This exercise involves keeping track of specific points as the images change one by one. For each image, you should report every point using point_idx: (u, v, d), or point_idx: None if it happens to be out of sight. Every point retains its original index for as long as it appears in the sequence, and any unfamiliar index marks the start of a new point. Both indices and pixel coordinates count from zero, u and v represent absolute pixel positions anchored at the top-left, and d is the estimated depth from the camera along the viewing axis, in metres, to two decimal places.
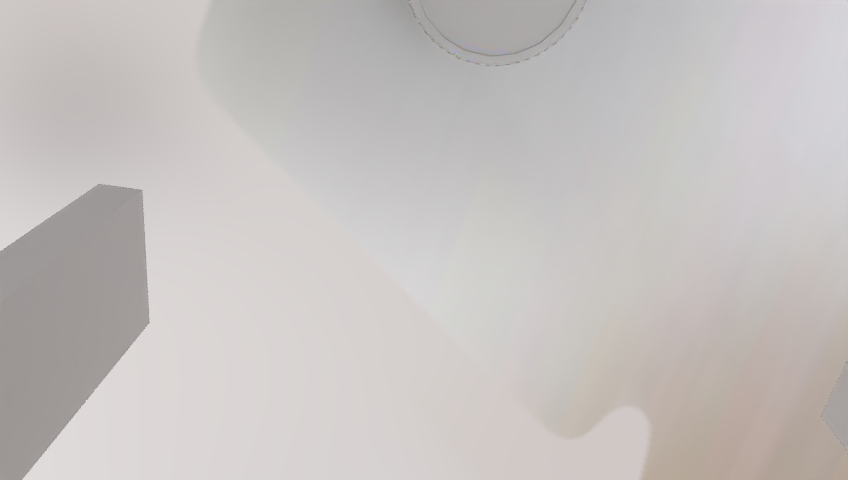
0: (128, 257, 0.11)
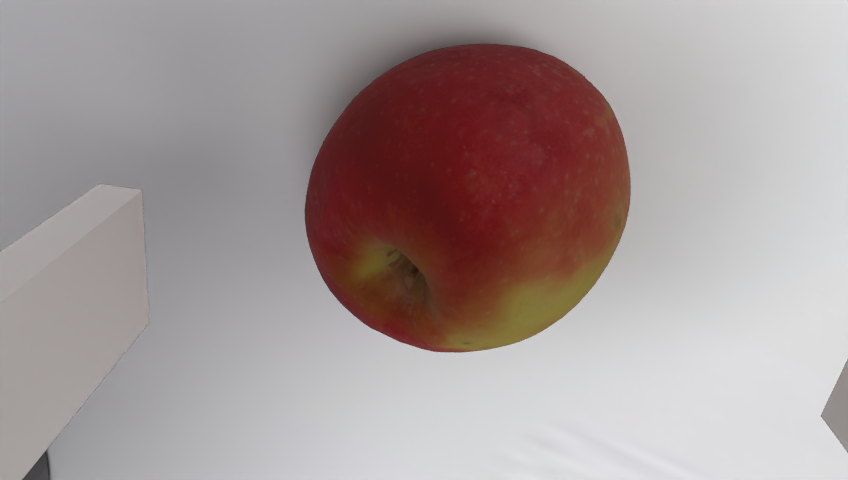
0: (128, 257, 0.11)
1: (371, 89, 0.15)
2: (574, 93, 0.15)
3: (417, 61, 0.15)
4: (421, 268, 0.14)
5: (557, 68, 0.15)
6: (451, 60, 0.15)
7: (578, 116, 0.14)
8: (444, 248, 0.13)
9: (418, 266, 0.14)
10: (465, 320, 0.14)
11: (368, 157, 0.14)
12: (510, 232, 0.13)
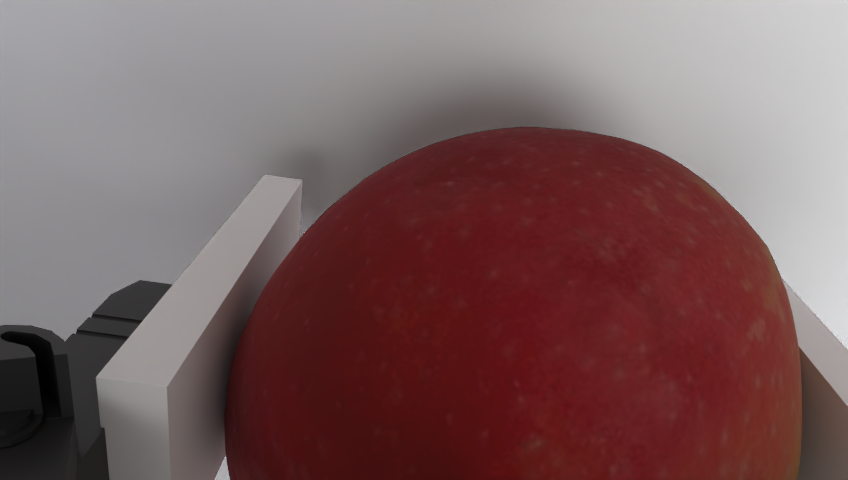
0: (292, 239, 0.13)
1: (338, 221, 0.08)
2: (720, 244, 0.08)
3: (422, 170, 0.08)
4: None
5: (683, 189, 0.08)
6: (487, 177, 0.08)
7: (735, 298, 0.07)
8: None
9: None
10: None
11: (320, 382, 0.07)
12: None
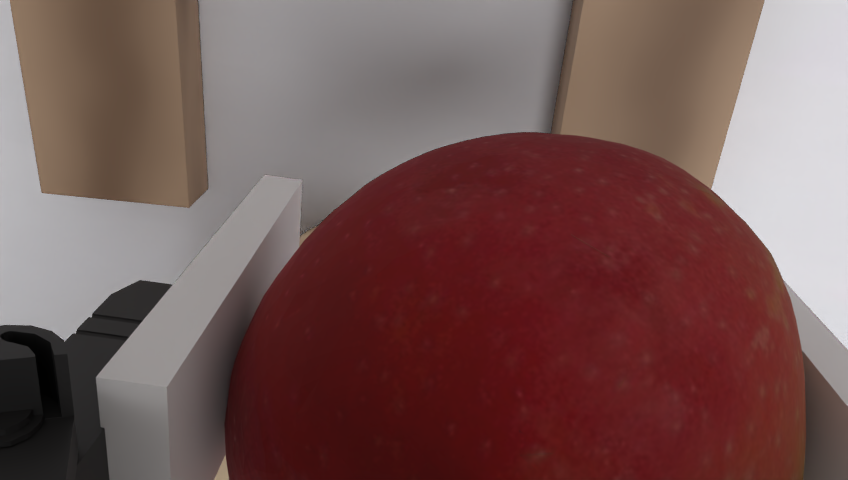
0: (292, 240, 0.13)
1: (339, 228, 0.08)
2: (724, 252, 0.08)
3: (424, 176, 0.08)
4: None
5: (686, 196, 0.08)
6: (490, 183, 0.08)
7: (741, 306, 0.07)
8: None
9: None
10: None
11: (321, 392, 0.07)
12: None
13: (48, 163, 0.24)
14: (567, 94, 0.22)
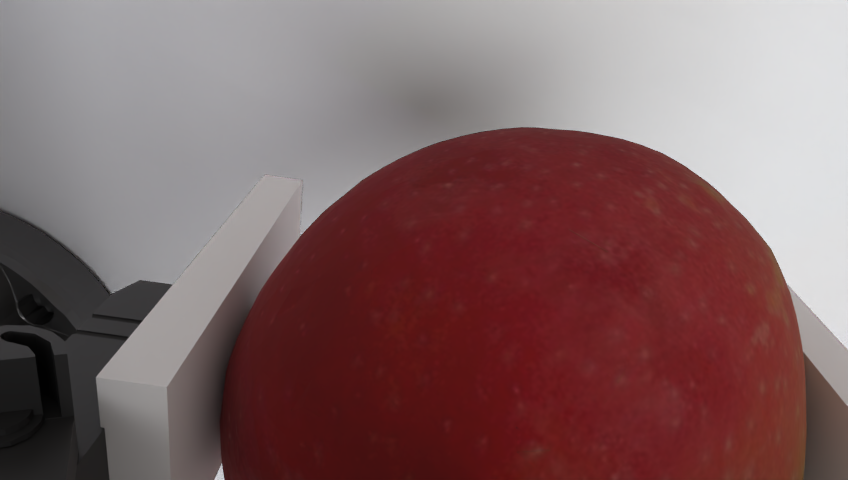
0: (292, 240, 0.13)
1: (335, 223, 0.08)
2: (725, 248, 0.07)
3: (421, 171, 0.08)
4: None
5: (685, 190, 0.08)
6: (486, 178, 0.08)
7: (741, 301, 0.07)
8: None
9: None
10: None
11: (315, 388, 0.07)
12: None
13: None
14: None
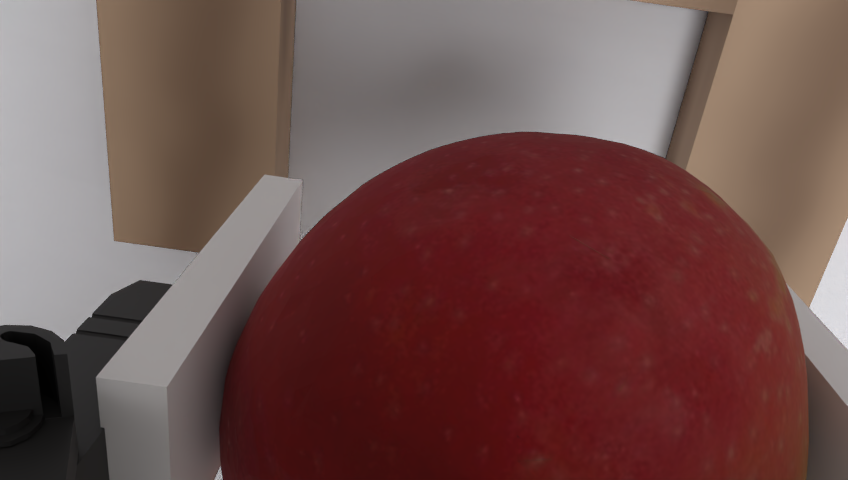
0: (292, 239, 0.13)
1: (335, 229, 0.08)
2: (726, 254, 0.07)
3: (421, 177, 0.08)
4: None
5: (687, 197, 0.08)
6: (487, 184, 0.08)
7: (742, 309, 0.07)
8: None
9: None
10: None
11: (315, 396, 0.07)
12: None
13: (124, 211, 0.23)
14: (687, 165, 0.21)
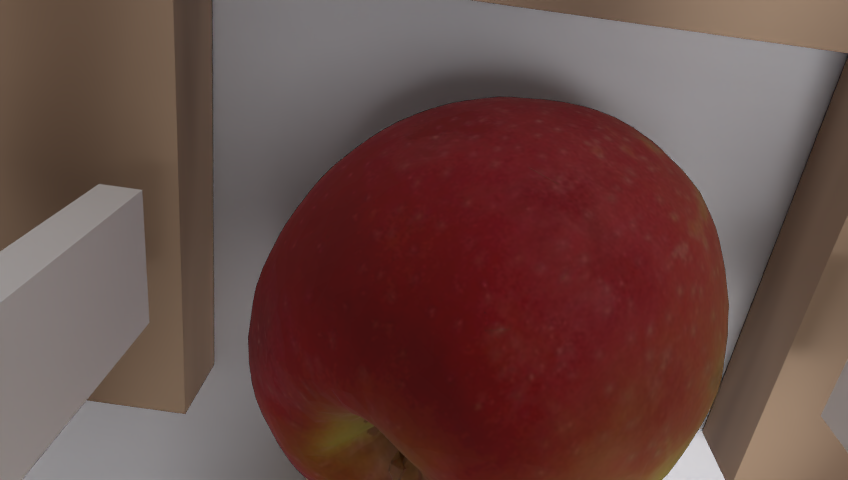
0: (128, 257, 0.11)
1: (344, 170, 0.10)
2: (655, 184, 0.09)
3: (414, 128, 0.10)
4: (414, 464, 0.09)
5: (627, 143, 0.10)
6: (466, 131, 0.10)
7: (664, 225, 0.09)
8: (450, 448, 0.08)
9: (409, 460, 0.09)
10: None
11: (330, 290, 0.09)
12: (559, 427, 0.08)
13: None
14: (815, 288, 0.14)
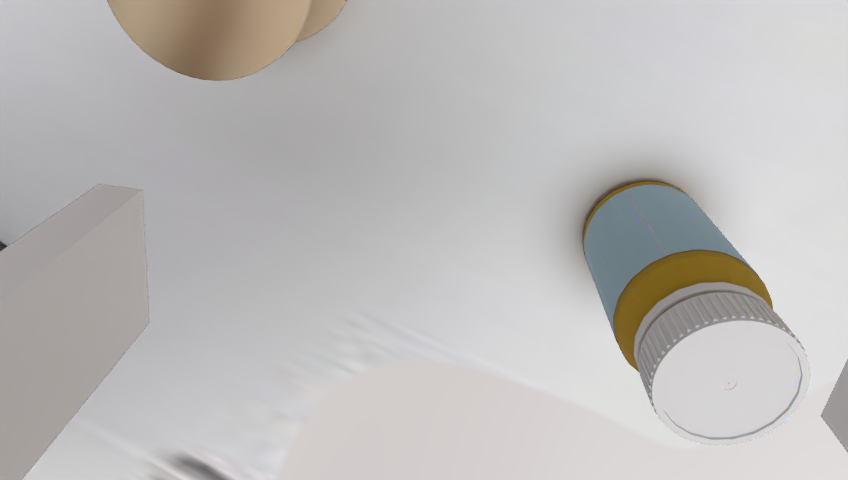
0: (128, 257, 0.11)
1: None
2: None
3: None
4: None
5: None
6: None
7: None
8: None
9: None
10: None
11: None
12: None
13: None
14: None
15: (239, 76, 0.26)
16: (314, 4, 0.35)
